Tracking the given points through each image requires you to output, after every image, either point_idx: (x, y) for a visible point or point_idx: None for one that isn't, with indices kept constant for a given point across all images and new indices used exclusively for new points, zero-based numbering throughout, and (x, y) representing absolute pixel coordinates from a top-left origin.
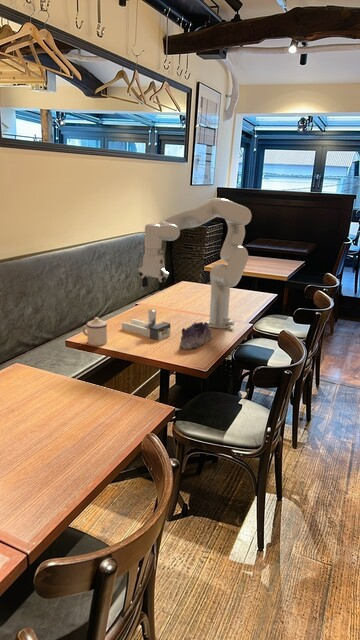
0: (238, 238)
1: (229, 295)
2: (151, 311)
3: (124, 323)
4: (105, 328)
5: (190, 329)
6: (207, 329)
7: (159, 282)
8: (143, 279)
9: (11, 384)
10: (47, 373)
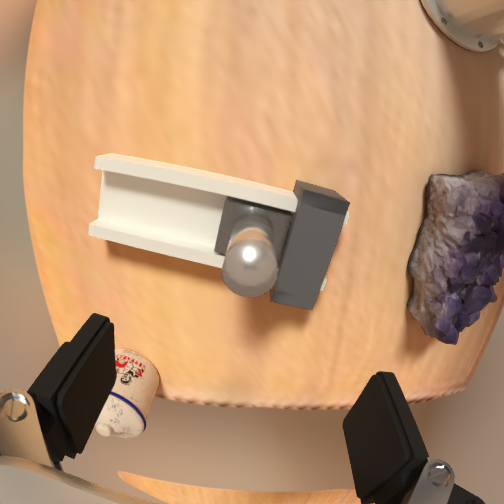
0: None
1: None
2: (255, 294)
3: (104, 238)
4: (145, 411)
5: (462, 283)
6: None
7: (370, 500)
8: (74, 451)
9: (168, 500)
10: (180, 484)
